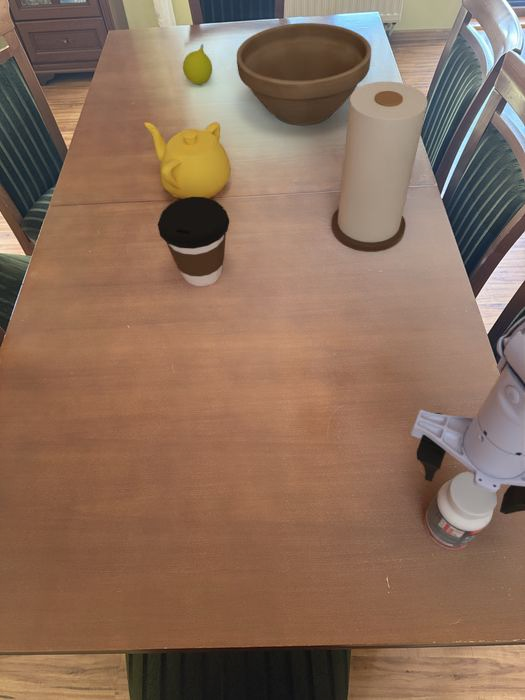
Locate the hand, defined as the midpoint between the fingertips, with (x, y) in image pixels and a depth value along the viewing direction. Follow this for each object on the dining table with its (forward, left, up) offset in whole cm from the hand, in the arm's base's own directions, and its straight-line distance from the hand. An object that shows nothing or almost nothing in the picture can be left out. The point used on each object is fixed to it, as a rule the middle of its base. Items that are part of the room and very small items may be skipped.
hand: (466, 488), depth 53 cm
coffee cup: (+47, -23, -9) cm, 53 cm away
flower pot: (+54, -79, -9) cm, 96 cm away
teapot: (+62, -43, -9) cm, 76 cm away
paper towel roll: (+26, -46, -9) cm, 54 cm away
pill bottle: (-1, +1, -9) cm, 9 cm away
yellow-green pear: (+83, -81, -9) cm, 117 cm away
